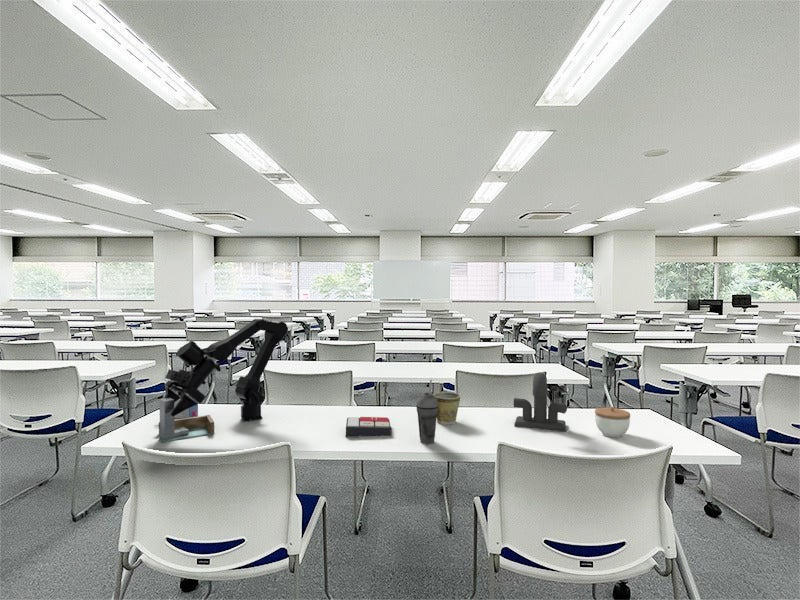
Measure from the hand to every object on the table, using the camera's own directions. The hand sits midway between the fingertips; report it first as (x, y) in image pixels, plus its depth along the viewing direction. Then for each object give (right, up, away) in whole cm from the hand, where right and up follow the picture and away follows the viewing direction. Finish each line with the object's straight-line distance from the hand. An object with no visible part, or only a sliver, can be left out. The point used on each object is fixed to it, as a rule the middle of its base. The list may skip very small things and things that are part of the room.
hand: (165, 412), depth 142 cm
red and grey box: (+65, -9, +8) cm, 67 cm away
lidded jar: (+148, -9, +5) cm, 148 cm away
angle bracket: (+2, -8, +2) cm, 9 cm away
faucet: (+125, -9, +11) cm, 126 cm away
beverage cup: (+85, -9, -2) cm, 86 cm away
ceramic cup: (+94, -8, +20) cm, 96 cm away
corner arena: (+4, -8, +5) cm, 11 cm away
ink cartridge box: (-7, -8, +26) cm, 28 cm away
